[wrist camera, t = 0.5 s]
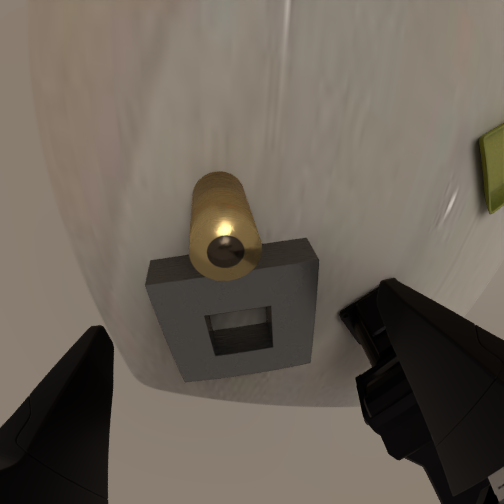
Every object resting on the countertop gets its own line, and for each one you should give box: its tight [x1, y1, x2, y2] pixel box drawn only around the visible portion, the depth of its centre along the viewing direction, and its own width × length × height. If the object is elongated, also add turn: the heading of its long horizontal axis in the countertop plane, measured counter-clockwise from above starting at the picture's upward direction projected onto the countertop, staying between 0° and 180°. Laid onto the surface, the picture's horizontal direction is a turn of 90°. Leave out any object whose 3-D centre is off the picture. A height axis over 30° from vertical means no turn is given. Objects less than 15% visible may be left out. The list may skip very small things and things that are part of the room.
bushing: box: [189, 172, 262, 281], centre depth 17 cm, size 4×4×7 cm
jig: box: [145, 238, 319, 382], centre depth 25 cm, size 12×12×3 cm
